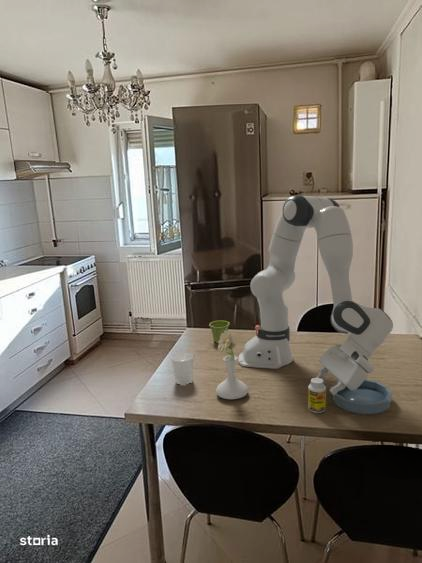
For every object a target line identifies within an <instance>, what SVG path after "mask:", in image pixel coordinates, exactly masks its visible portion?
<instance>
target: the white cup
mask: <svg viewBox="0 0 422 563" xmlns="http://www.w3.org/2000/svg"><path fill="white" fill-rule="evenodd" d="M171 361H172V362H171V363H172V369H173V376H174V380H175V381H174V382H175V384H176V383H177V384H180V385H179V386H187V385H186V384H189V383H191V384H192V383H193V382H194V355H193V354H191V353H187V352H181V353H177V354H175V355H173V356H172V358H171ZM192 381H193V382H192ZM177 384H176V385H177ZM189 385H190V384H189Z"/></svg>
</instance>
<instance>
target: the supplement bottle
mask: <svg viewBox="0 0 422 563" xmlns="http://www.w3.org/2000/svg"><path fill="white" fill-rule="evenodd" d="M324 383H325V382H324V380H323V379H321V378H316V377H313V378H311V379H310V383H309V385H308V386H307V391H308V392H307V393H308V394H307V403H308V404H307V405H308V406H307V408H308V410H309V411H310V412H312V413H315V414H322V413H324V412H326V410H327V409H326V408H327V386H326V385H325V384H324Z"/></svg>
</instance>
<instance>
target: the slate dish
mask: <svg viewBox="0 0 422 563" xmlns="http://www.w3.org/2000/svg"><path fill="white" fill-rule="evenodd" d="M339 381H340V380H337V381H336V383H335V384H334V385H333V387H334V386H336V385H338V382H339ZM331 395H332V400H333V403H334V404H335V405H336V406H337V407H338V408H340V409H341V410H344V411H346V412H350V413H354V414H357V415H378V414H382V413H384V412H385V411H386V412H387V411H388V410H389V409H390V408H391V402H392V400H393V399H392V396H393V395H392V392H391V390H390V388H389V387H388V386H387V385H385V384H382V383H381V382H379V381H376V380H371V379H367V378H366V379H365V380H364V381H363V383H362V384H361V385H360V386H359V387H358V388H357V389H356V390H353V391H351V390H350V389H349V388H348V387H347V386H346V387H345V388H344V389H343V390H340V391H338V392H337V393H336V394H335V395H333V394H332V393H331Z"/></svg>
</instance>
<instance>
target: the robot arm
mask: <svg viewBox="0 0 422 563" xmlns="http://www.w3.org/2000/svg"><path fill="white" fill-rule="evenodd" d="M307 228H308V229H309V228H310V229H311V228H314V230H315V233H316V238H317V245H318V249H319V254H320V256H321V259H322V262H323V264H324V267H325V269H326V271H327V275H328V278H329V281H330V287H331V296H332V302H333V307H332V310H331V315H330V323H331V326H332V327H333V329H335V331H337V332H338V333H341V334H344V335H346V334H347V335H349V336H348V337H347V338H346V339H345V341H343V343H342V344H340V343H339V344H335V345H333V346H331V347H330V348H329V349H327V350H326V351H325V352H324V353H323V354H322V355H321V356H320V357H319V360H318V362H319V363H320V364H321V365H322V366H321V367H320V370H319V371H318V374H317V375H316V377H315V378H321V379H323V381H324V380H325V375H326V374H328V372H330V373H331V374H332V375H333V377H336V378H337V379H338V381H339V382H338V381H337V382H338V385H336V386H334V385H333V386H334V387H333V386H330V388H329V389H328V391H329V392H330V394H331V395H332V394H333V395H335V394H336V393H337V392H338V391H340V390H343V389H344V388H345V387H346V386H347V387H348V388H349V389H350V390H351V391H353V390H356V389H357V388H358V387H359V386H360V385H361V384H362V383H363V381H364V380H365V379H367V378H368V375H369V374H371V373H373V372H374V370H375V368H374V366H373V364H372V362H371V360H370V358H371V357H372V356H373V354H374V352H375V350H376V349H378V347H381V346H382V344H383V343H384V342H385V341H386V340H387V338H388V337H389V335H390V334H391V332H392V331H393V328H394V322H393V320H392V319H391V317H390V316H389V315H388V314H387V313H386V311H384V310H383V309H381V308H380V307H379V308H378V307H377V308H376V307H370V306H366V305H362V304H359V303H357V302H355V301H353V297H352V296H353V295H352V290H351V289H352V288H351V283H350V268H351V265H352V260H353V257H354V252H353V251H354V243H353V237H352V230H351V226H350V224H349V221H348V217H347V215H346V212H345V211H344V210H343V208H342V207H340V204H339V203H338V202H337V201H336V200H334V199H332V198H328V197H322V196H317V195H316V196H315V195H301V194H299V195H292V196H290V197H288V198H287V199H286V200H285V202H284V203H283V206H282V211H281V213H280V215H279V217H278V219H277V221H276V224H275V227H274V230H273V233H272V235H271V236H272V237H271V240H270V243H269V247H268V248H267V249H268V255H269V261H268V262H269V263H268V266H267V268H266V269H264V270H261V271H259V272H257V274H255V275H254V277H253V278H252V279H251V281H250V291H251V293H252V294H253V296H254V297H256V299H257V302H258V307H259V312H260V313H259V314H260V325H259V324H256V325H255V328H254V330H255V331H256V332H255V334H256V335H254V337H252V338H251V339H250V340H248V341H247V342H246V343H245V345H244V347H243V351H242V352H240V353H239V355H238V359H237V360H238V364H239V365H240V366H241V367H245V368H260V369H261V368H262V369H275V370H278V369H281V367H283V366H287V365H289V364H291V363H292V362H293V361H294V358H293V356H292V350H291V345H290V339H291V329H290V326H289V309H288V307H287V305H286V304H285V302H284V298H283V293H284V291H286V290H288V289H289V288H290V287H291V286H292V285H293V284H294V282H295V279H296V273H295V268H296V260H297V259H296V258H297V256H298V252H299V249H300V246H301V244H302V240H303V237H304V233H305V231H306V229H307ZM333 395H332V396H333Z"/></svg>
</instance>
